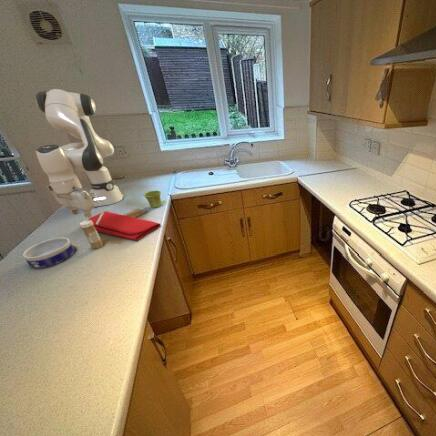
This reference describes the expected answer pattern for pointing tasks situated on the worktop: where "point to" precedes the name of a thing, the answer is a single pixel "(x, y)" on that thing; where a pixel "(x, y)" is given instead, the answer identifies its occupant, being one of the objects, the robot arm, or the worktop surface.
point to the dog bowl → (49, 253)
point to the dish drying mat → (123, 225)
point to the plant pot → (153, 198)
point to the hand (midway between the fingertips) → (82, 215)
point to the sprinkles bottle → (91, 234)
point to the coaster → (135, 213)
